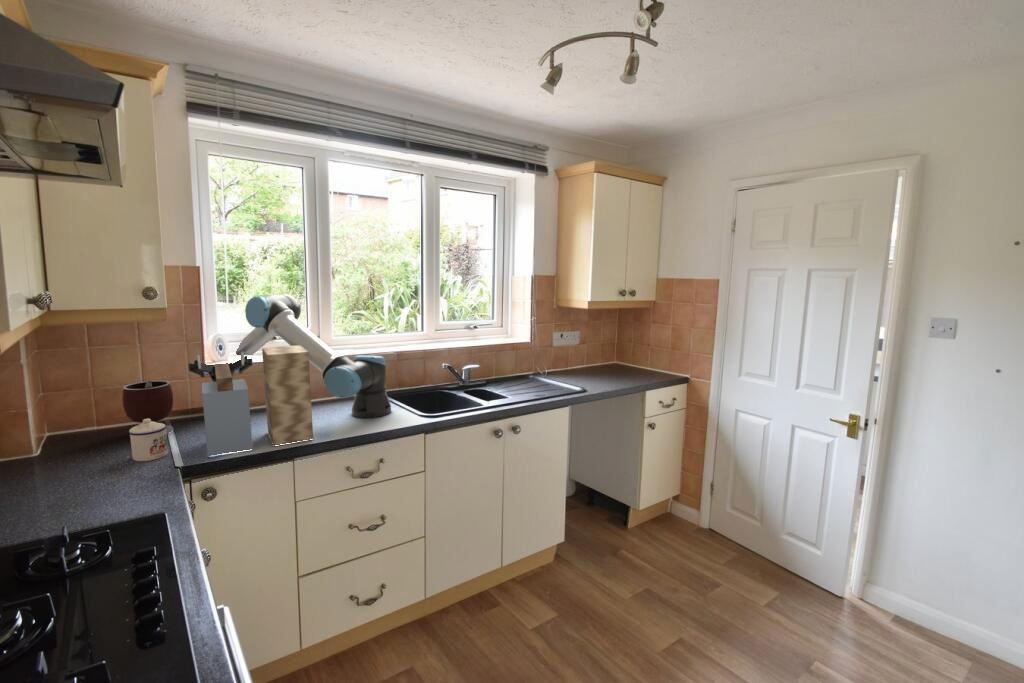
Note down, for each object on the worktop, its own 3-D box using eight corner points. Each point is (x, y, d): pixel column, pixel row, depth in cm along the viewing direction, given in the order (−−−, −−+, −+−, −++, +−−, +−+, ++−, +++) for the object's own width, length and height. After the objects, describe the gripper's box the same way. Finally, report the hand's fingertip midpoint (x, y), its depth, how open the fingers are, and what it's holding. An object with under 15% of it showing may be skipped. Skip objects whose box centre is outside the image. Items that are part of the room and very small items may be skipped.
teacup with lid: (155, 462, 145) (151, 424, 143) (124, 462, 145) (119, 424, 143) (181, 447, 157) (178, 412, 155) (152, 447, 157) (149, 412, 155)
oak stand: (304, 427, 177) (300, 345, 173) (313, 440, 164) (308, 351, 160) (267, 433, 171) (262, 348, 167) (273, 447, 158) (267, 355, 153)
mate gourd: (124, 432, 171) (118, 376, 168) (172, 424, 180) (167, 370, 177) (129, 444, 160) (122, 384, 157) (180, 434, 169) (174, 377, 166)
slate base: (248, 436, 168) (244, 378, 165) (252, 450, 155) (248, 388, 152) (207, 442, 162) (202, 383, 159) (207, 458, 148) (202, 393, 145)
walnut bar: (228, 374, 171) (228, 363, 171) (233, 390, 150) (232, 377, 149) (215, 375, 169) (214, 364, 169) (217, 391, 148) (216, 378, 147)
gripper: (258, 381, 197) (261, 363, 180) (184, 389, 184) (179, 370, 167) (256, 364, 200) (259, 344, 183) (182, 370, 186) (178, 350, 169)
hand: (221, 356), depth 175 cm, fingers open, 13 cm apart
